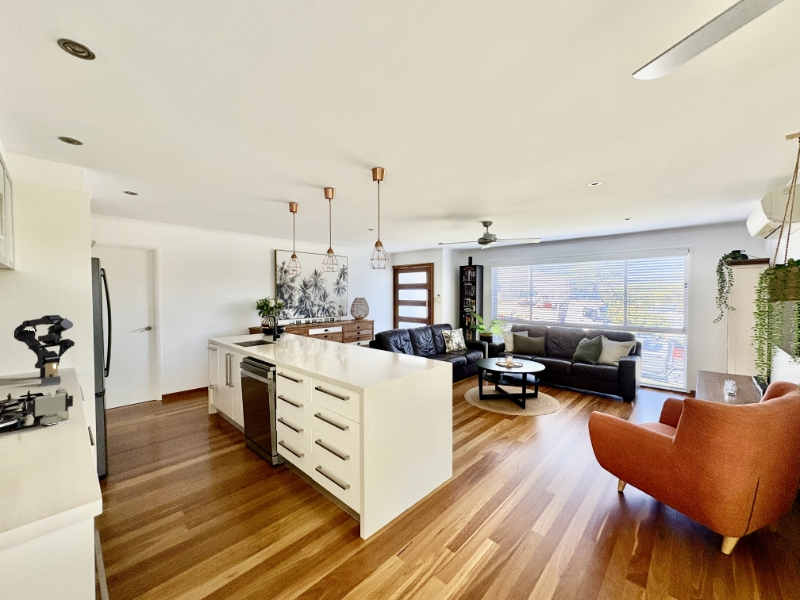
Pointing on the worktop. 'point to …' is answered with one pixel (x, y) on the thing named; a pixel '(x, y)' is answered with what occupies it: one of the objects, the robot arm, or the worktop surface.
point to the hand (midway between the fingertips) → (49, 358)
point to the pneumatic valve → (50, 407)
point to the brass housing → (51, 369)
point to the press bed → (50, 381)
